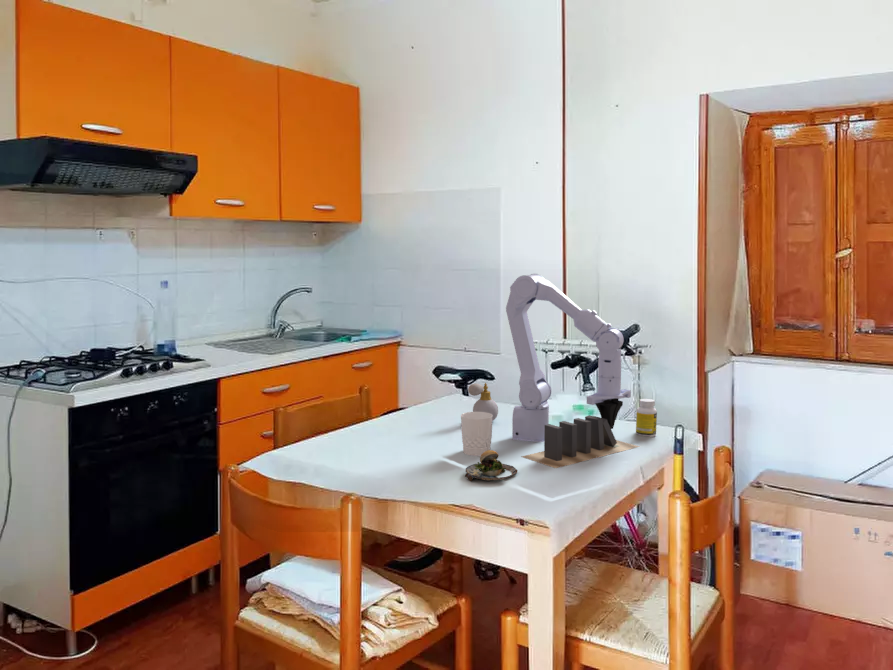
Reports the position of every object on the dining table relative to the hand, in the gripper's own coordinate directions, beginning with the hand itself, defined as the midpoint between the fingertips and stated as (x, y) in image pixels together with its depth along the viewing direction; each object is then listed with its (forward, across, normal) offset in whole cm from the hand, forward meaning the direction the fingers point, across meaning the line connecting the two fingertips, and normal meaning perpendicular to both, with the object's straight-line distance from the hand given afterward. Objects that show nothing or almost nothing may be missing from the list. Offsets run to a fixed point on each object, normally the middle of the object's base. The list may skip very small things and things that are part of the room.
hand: (608, 428), depth 199 cm
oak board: (+5, -10, 0) cm, 11 cm away
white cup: (+5, -30, +16) cm, 35 cm away
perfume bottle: (+5, -8, +40) cm, 41 cm away
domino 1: (+4, -20, 0) cm, 20 cm away
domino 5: (+4, 0, 0) cm, 4 cm away
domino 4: (+4, -5, 0) cm, 6 cm away
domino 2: (+4, -15, 0) cm, 15 cm away
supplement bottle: (+5, +17, +2) cm, 18 cm away
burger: (+6, -39, 0) cm, 39 cm away
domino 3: (+4, -10, 0) cm, 11 cm away
